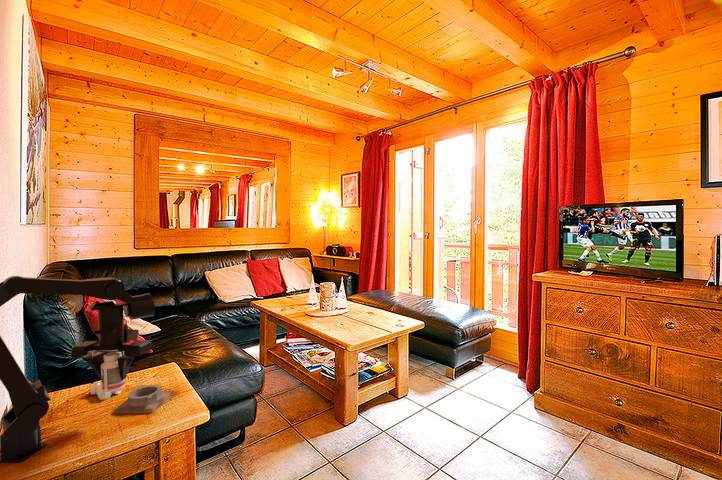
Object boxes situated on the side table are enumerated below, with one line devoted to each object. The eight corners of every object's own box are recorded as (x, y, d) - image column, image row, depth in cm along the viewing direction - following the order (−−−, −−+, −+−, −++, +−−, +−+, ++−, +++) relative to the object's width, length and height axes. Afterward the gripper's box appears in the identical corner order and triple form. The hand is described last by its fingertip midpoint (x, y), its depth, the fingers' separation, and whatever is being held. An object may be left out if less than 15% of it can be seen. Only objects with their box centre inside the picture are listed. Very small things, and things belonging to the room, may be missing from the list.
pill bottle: (129, 383, 98) (128, 349, 98) (117, 392, 93) (115, 357, 92) (110, 384, 98) (109, 350, 97) (96, 393, 92) (95, 357, 92)
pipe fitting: (108, 402, 106) (123, 390, 113) (107, 391, 106) (122, 379, 113) (82, 403, 106) (98, 391, 113) (81, 391, 106) (97, 380, 113)
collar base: (152, 412, 99) (152, 400, 99) (114, 413, 99) (114, 400, 99) (173, 394, 110) (173, 383, 110) (139, 394, 110) (138, 383, 110)
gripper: (161, 315, 103) (163, 367, 103) (99, 316, 103) (101, 367, 103) (137, 326, 91) (139, 383, 92) (67, 327, 91) (70, 384, 92)
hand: (113, 379), depth 95 cm, fingers closed on pill bottle, 5 cm apart
